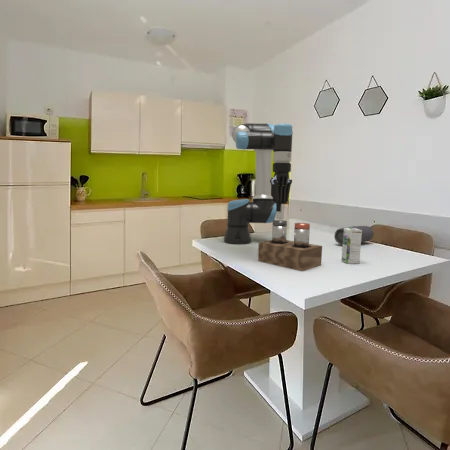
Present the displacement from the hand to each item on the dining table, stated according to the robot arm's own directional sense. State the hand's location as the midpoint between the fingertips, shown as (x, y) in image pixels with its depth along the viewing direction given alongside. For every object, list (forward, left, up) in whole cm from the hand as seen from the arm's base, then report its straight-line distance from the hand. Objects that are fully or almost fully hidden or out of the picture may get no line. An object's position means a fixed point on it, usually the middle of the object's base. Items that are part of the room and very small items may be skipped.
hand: (279, 219), depth 146 cm
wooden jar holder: (+5, 0, -18) cm, 19 cm away
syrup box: (+22, +21, -18) cm, 36 cm away
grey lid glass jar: (0, 0, -11) cm, 11 cm away
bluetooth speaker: (+5, +62, -18) cm, 65 cm away
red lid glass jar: (+11, 0, -11) cm, 15 cm away
